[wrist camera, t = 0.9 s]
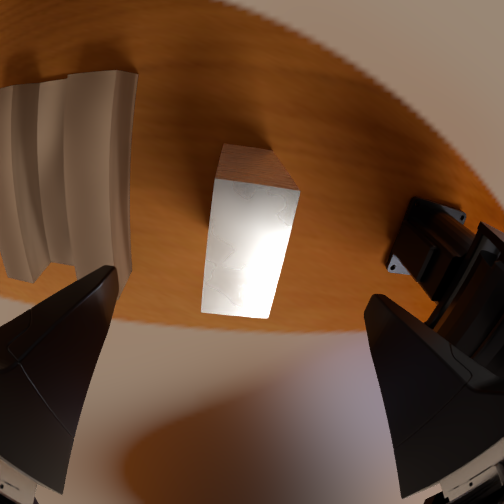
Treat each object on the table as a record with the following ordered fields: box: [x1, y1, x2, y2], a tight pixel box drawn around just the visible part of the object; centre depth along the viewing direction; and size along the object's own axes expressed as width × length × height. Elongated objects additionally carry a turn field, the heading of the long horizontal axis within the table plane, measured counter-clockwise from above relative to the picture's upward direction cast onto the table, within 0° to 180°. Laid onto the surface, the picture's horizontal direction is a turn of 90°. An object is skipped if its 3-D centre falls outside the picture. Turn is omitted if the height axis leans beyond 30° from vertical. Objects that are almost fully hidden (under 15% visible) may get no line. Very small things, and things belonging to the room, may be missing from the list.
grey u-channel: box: [0, 70, 138, 300], centre depth 15 cm, size 10×14×4 cm
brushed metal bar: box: [201, 143, 300, 318], centre depth 15 cm, size 3×6×8 cm, turn 171°
